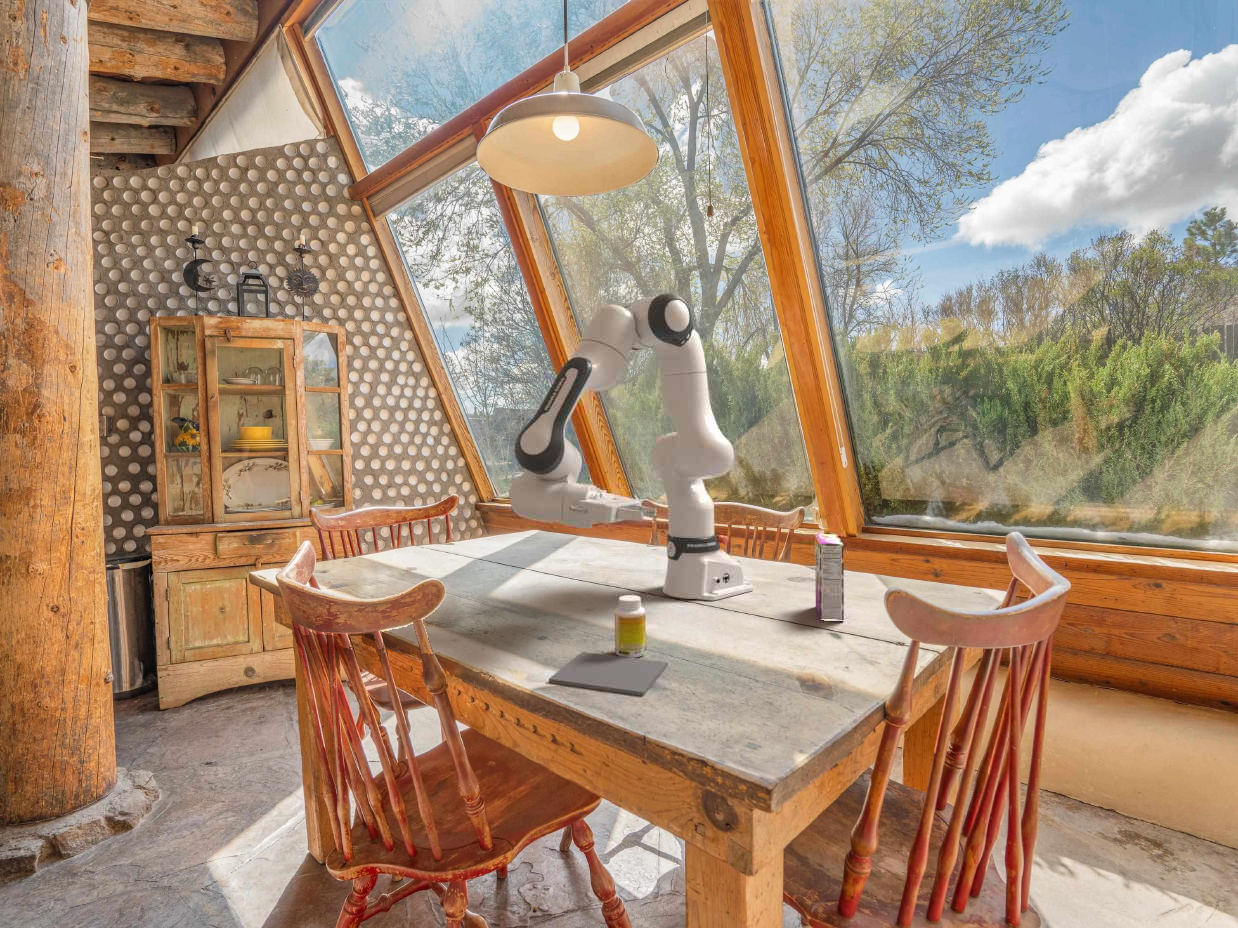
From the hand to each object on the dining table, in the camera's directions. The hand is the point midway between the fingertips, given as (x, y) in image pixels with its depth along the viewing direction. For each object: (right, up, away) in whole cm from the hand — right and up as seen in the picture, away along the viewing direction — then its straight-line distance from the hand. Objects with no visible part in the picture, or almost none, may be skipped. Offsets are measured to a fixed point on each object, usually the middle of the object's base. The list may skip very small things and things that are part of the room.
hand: (649, 514), depth 128 cm
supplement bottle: (-4, -24, -11) cm, 27 cm away
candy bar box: (+39, -22, +11) cm, 46 cm away
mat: (-7, -25, -20) cm, 33 cm away
